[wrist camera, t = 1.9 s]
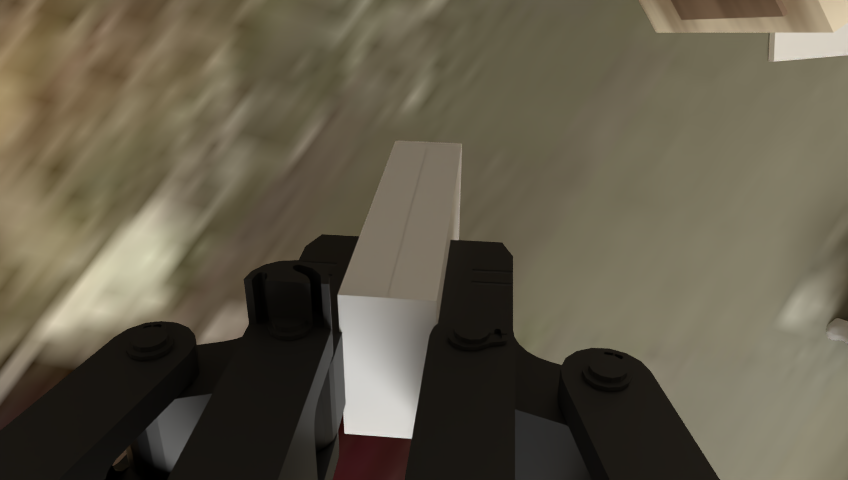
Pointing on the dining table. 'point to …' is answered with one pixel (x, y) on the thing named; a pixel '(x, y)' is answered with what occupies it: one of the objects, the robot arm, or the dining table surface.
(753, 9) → the birch block
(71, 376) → the robot arm
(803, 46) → the mat
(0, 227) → the dining table surface
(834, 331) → the dog figurine
